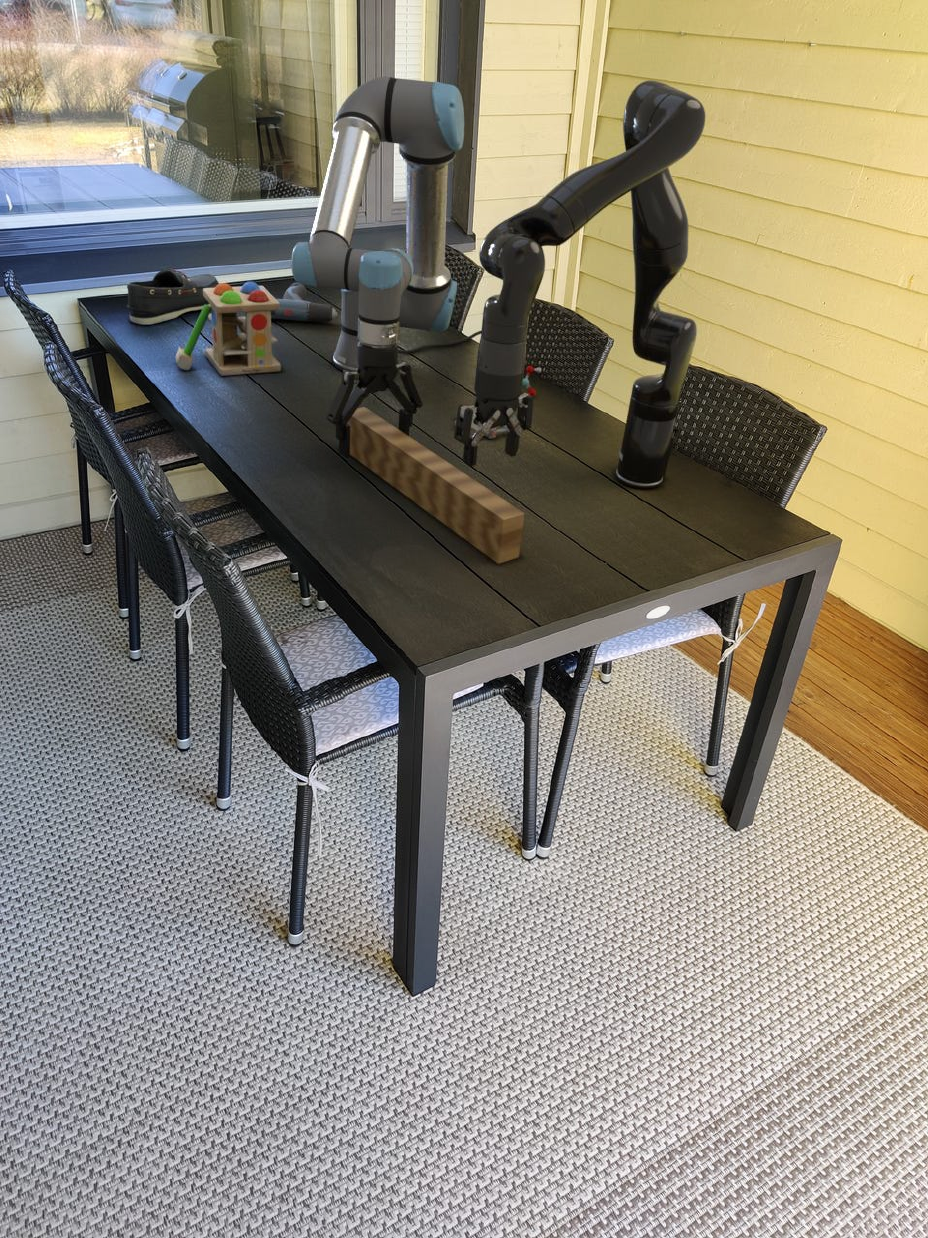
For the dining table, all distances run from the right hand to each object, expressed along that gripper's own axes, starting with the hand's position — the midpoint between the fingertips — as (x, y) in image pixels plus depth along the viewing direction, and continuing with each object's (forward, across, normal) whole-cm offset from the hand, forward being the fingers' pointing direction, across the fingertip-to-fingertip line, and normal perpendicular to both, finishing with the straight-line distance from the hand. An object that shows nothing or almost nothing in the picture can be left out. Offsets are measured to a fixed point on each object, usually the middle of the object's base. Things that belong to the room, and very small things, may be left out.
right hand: (490, 459), depth 163 cm
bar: (+16, 0, +18) cm, 23 cm away
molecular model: (+16, +48, +50) cm, 71 cm away
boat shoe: (+16, +3, +138) cm, 139 cm away
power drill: (+16, +34, +122) cm, 128 cm away
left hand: (+12, 0, +35) cm, 37 cm away
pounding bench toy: (+16, -3, +95) cm, 96 cm away
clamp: (+16, +29, +37) cm, 50 cm away
